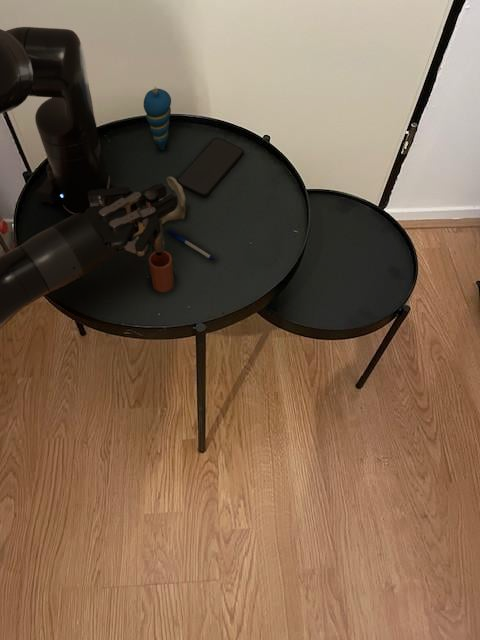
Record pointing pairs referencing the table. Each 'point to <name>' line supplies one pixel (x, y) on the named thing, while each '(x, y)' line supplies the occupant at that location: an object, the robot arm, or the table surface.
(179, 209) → the bone
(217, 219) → the table surface
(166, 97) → the ornament
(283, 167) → the table surface
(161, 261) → the pen cup
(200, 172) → the smartphone
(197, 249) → the ballpoint pen
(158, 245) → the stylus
